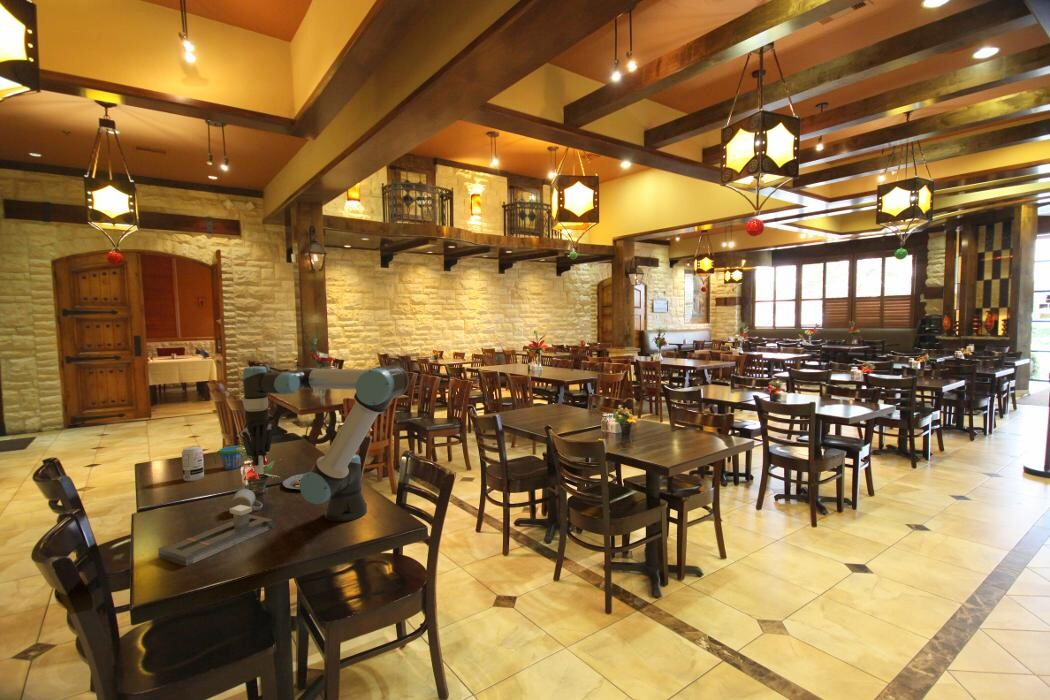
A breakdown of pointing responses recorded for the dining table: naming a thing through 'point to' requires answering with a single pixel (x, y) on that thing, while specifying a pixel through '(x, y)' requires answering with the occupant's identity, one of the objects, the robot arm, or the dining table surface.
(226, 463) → the snack cup
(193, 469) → the supplement can
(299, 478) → the food plate
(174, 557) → the slider track base
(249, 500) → the ceramic mug
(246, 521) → the fader tab
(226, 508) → the dining table surface
